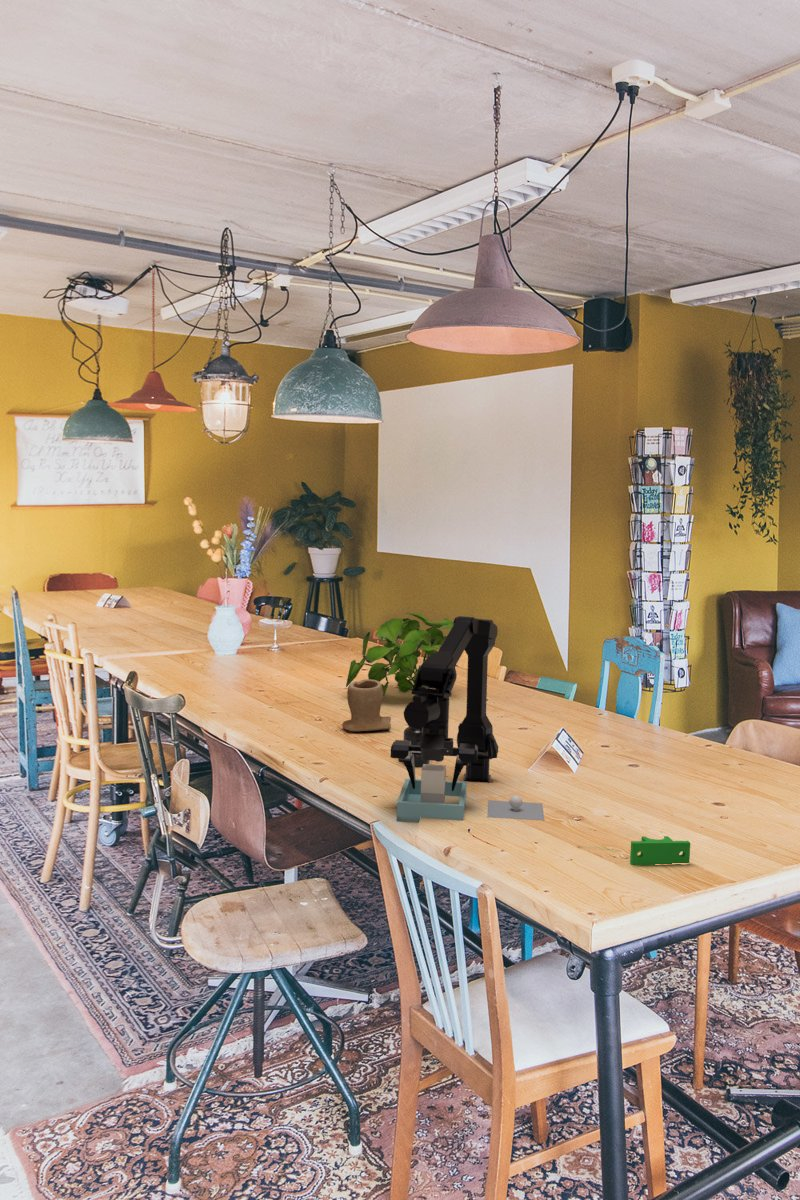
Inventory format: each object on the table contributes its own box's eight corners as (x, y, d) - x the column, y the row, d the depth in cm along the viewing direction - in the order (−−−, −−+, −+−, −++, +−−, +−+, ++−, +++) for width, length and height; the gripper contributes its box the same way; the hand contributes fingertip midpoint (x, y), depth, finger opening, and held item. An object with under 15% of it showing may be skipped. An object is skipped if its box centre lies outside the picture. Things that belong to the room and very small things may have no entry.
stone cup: (347, 736, 280) (349, 684, 278) (339, 727, 291) (340, 677, 290) (399, 734, 284) (400, 683, 282) (388, 725, 295) (389, 676, 294)
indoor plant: (421, 698, 303) (384, 609, 307) (344, 735, 332) (311, 654, 336) (508, 665, 334) (472, 585, 338) (430, 702, 363) (399, 628, 367)
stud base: (488, 804, 219) (488, 786, 219) (542, 807, 218) (542, 789, 218) (487, 821, 208) (487, 802, 207) (544, 825, 206) (545, 805, 206)
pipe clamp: (681, 859, 189) (683, 836, 189) (689, 866, 185) (690, 842, 185) (625, 859, 188) (626, 835, 188) (631, 866, 184) (633, 842, 184)
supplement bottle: (399, 761, 254) (400, 715, 253) (423, 759, 256) (425, 714, 255) (408, 768, 248) (409, 721, 247) (433, 766, 250) (434, 720, 249)
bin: (405, 795, 224) (405, 778, 224) (466, 799, 223) (466, 782, 223) (396, 820, 207) (396, 802, 206) (462, 824, 205) (463, 806, 205)
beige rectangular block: (420, 808, 212) (421, 770, 212) (422, 801, 217) (423, 764, 217) (443, 810, 212) (444, 771, 211) (444, 803, 217) (445, 765, 216)
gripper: (388, 725, 206) (386, 798, 207) (477, 730, 204) (474, 803, 205) (394, 714, 217) (392, 783, 218) (478, 718, 215) (476, 787, 216)
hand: (433, 789), depth 214 cm, fingers open, 8 cm apart
